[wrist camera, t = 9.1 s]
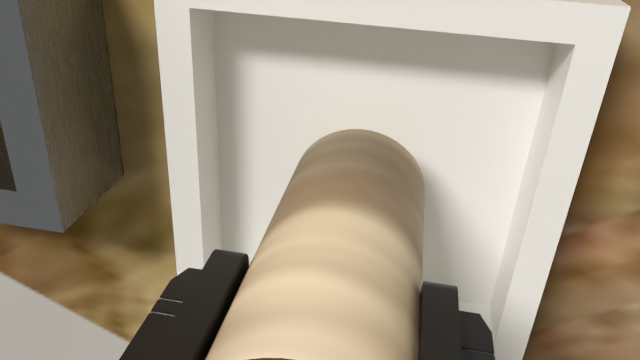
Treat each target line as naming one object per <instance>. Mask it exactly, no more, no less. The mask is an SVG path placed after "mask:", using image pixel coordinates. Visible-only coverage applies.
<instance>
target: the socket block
mask: <svg viewBox="0 0 640 360" xmlns="http://www.w3.org/2000/svg"><path fill="white" fill-rule="evenodd" d="M0 122H1V126H2V128H0V223H2V224H8V225H15V226H21V227H28V228H34V229H41V230H47V231H53V232H60V233H64V232H65V231H66V230H67V229H68V228H69V227H70V226H71V225H72V224H73V223H74V222H75V221H76V220H77V219H78V218H79V217H80V216H81V215H82V214H83V213H84V212H85V211H86V210H87V209H89V208H90V207H91V206H92V205H93V204H94V203H95V202H96V201H97V200H98V199H99V198H100V197H101V196H102V195H103V194H104V193H105V192H106V191H107V190H108V189H109V188H110V187H111V186H112V185H114V184H115V183H116V182H117V181H118V180H119V179H120V178H121V177H122V176H123V167H122V159H121V152H120V144H119V136H118V128H117V120H116V113H115V105H114V97H113V89H112V81H111V74H110V66H109V58H108V50H107V43H106V35H105V27H104V19H103V11H102V4H101V0H0Z"/></svg>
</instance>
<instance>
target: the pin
mask: <svg viewBox="0 0 640 360" xmlns="http://www.w3.org/2000/svg"><path fill="white" fill-rule="evenodd" d="M424 205H425V184H424V179H423V175H422V172H421V170H420V167H419V165H418V164H417V162H416V160H415V159H414V157H413V156H412V155H411V154H410V153H409V151H408V150H407V149H406V148H405V147H403V146H402V145H401V144H400V143H398V142H397V141H395V140H393V139H392V138H390V137H388V136H386V135H383V134H381V133H378V132H374V131H370V130H364V129H347V130H341V131H337V132H334V133H331V134H328V135H326V136H324V137H322V138H320V139H319V140H317V141H316V142H314V143H313V144H312V145H311V146H310V147H309V148H308V149H307V150H306V151H305V153H304V154H303V156H302V157H301V159H300V161H299V163H298V165H297V167H296V169H295V171H294V173H293V175H292V177H291V179H290V182H289V184H288V186H287V188H286V190H285V192H284V194H283V196H282V198H281V200H280V203H279V205H278V207H277V209H276V211H275V213H274V215H273V217H272V219H271V221H270V224H269V226H268V228H267V230H266V232H265V234H264V236H263V238H262V240H261V242H260V245H259V247H258V249H257V251H256V253H255V255H254V257H253V259H252V261H251V263H250V266H249V268H248V270H247V272H246V274H245V276H244V278H243V280H242V282H241V284H240V287H239V289H238V291H237V293H236V295H235V297H234V299H233V301H232V303H231V305H230V308H229V310H228V312H227V314H226V316H225V318H224V320H223V322H222V324H221V326H220V329H219V331H218V333H217V335H216V337H215V339H214V341H213V343H212V345H211V347H210V350H209V352H208V354H207V356H206V358H205V360H418V350H419V321H420V294H421V288H422V269H423V237H424Z"/></svg>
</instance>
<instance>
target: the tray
mask: <svg viewBox="0 0 640 360" xmlns="http://www.w3.org/2000/svg"><path fill="white" fill-rule="evenodd" d="M154 9H155V20H156V32H157V44H158V56H159V67H160V79H161V91H162V103H163V114H164V126H165V138H166V150H167V161H168V173H169V185H170V197H171V208H172V220H173V232H174V244H175V255H176V267H177V276H178V275H179V274H180V273H182V272H183V271H185V270H186V269H187V268H195V269H201V270H202V269H203V267H204V265H205V264H206V262H207V260H208V259H209V257H210V255H211V253H212V252H213V251H214V250H215V249H219V250H226V251H232V252H239V253H245V254H247V255H248V257H249V266H250V263H251V261H252V259H253V257H254V255H255V253H256V251H257V249H258V247H259V245H260V242H261V240H262V238H263V236H264V234H265V232H266V230H267V228H268V226H269V224H270V221H271V219H272V217H273V215H274V213H275V211H276V209H277V207H278V205H279V203H280V200H281V198H282V196H283V194H284V192H285V190H286V188H287V186H288V184H289V182H290V179H291V177H292V175H293V173H294V171H295V169H296V167H297V165H298V163H299V161H300V159H301V157H302V156H303V154H304V153H305V151H306V150H307V149H308V148H309V147H310V146H311V145H312V144H313V143H314V142H316V141H317V140H319V139H320V138H322V137H324V136H326V135H328V134H331V133H334V132H337V131H341V130H347V129H364V130H370V131H374V132H378V133H381V134H383V135H386V136H388V137H390V138H392V139H393V140H395V141H397V142H398V143H400V144H401V145H402V146H403V147H405V148H406V149H407V150H408V151H409V153H410V154H411V155H412V156H413V157H414V159H415V160H416V162H417V164H418V165H419V167H420V170H421V172H422V175H423V179H424V184H425V205H424V237H423V269H422V284H423V281H427V282H434V283H440V284H447V285H453V286H457V288H458V302H459V311H466V312H472V313H478V314H480V315H481V316H482V318H483V320H484V321H485V323H486V324H487V326H488V327H489V329H490V330H491V332H492V337H493V346H494V356H495V360H522V359H523V356H524V352H525V349H526V346H527V343H528V339H529V336H530V333H531V330H532V326H533V323H534V320H535V317H536V313H537V310H538V307H539V304H540V301H541V297H542V294H543V291H544V288H545V284H546V281H547V278H548V275H549V271H550V268H551V265H552V262H553V258H554V255H555V252H556V249H557V245H558V242H559V239H560V236H561V232H562V229H563V226H564V223H565V219H566V216H567V213H568V210H569V206H570V203H571V200H572V197H573V194H574V190H575V187H576V184H577V181H578V177H579V174H580V171H581V168H582V164H583V161H584V158H585V155H586V151H587V148H588V145H589V142H590V138H591V135H592V132H593V129H594V125H595V122H596V119H597V116H598V112H599V109H600V106H601V103H602V100H603V96H604V93H605V90H606V87H607V83H608V80H609V77H610V74H611V70H612V67H613V64H614V61H615V57H616V54H617V51H618V48H619V44H620V41H621V38H622V35H623V31H624V28H625V25H626V22H627V18H628V15H629V12H630V9H631V7H630V6H629V5H627V4H626V3H624V2H623V1H621V0H154Z"/></svg>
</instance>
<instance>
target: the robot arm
mask: <svg viewBox="0 0 640 360" xmlns="http://www.w3.org/2000/svg"><path fill="white" fill-rule="evenodd" d="M248 268H249V257H248V255H247V254H245V253H239V252H232V251H226V250H219V249H215V250H214V251H213V252H212V253H211V255H210V257H209V259H208V260H207V262H206V264H205V265H204V267H203V269H202V270H201V269H195V268H187V269H186V270H185V271H183V272H182V273H180V274H179V275H178V276H176V277H175V278H173V279H172V280H171V281H170V282H169V284H168V285H167V287H166V288H165V290H164V291H163V293H162V295H161V296H160V300H158V301H157V302H156V304H155V305H154V307H153V308H152V310H151V314H150V313H149V315H148V316H147V318H146V319H145V321H144V322H143V324H142V325H141V327H140V328H139V330H138V331H137V333H136V335H135V336H134V338H133V339H132V341H131V342H130V344H129V345H128V347H127V348H126V350H125V352H124V353H123V355H122V356H121V358H120V359H119V360H205V358H206V356H207V354H208V352H209V350H210V347H211V345H212V343H213V341H214V339H215V337H216V335H217V333H218V331H219V329H220V326H221V324H222V322H223V320H224V318H225V316H226V314H227V312H228V310H229V308H230V305H231V303H232V301H233V299H234V297H235V295H236V293H237V291H238V289H239V287H240V284H241V282H242V280H243V278H244V276H245V274H246V272H247V270H248ZM418 360H495V356H494V346H493V337H492V332H491V330H490V329H489V327H488V326H487V324H486V323H485V321H484V320H483V318H482V316H481V315H480V314H478V313H472V312H466V311H459V302H458V288H457V286H453V285H447V284H440V283H434V282H427V281H423V284H422V288H421V294H420V321H419V350H418Z"/></svg>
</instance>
